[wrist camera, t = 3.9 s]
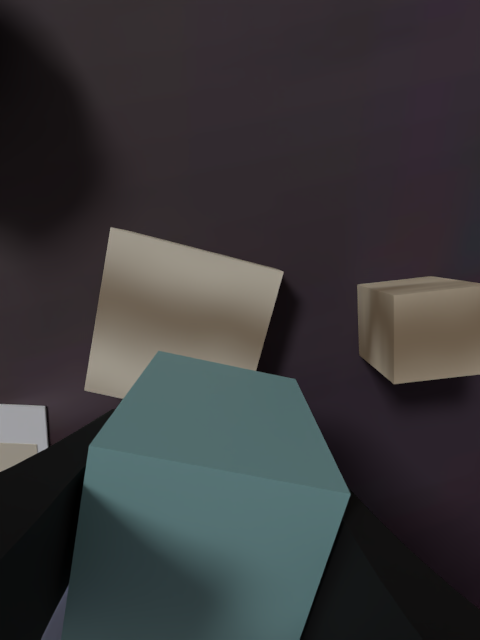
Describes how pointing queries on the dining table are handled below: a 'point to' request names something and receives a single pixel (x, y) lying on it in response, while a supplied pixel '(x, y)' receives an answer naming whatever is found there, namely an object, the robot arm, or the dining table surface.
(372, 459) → the dining table surface
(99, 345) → the birch slab
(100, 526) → the teal cube
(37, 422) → the blueprint card
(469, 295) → the block
